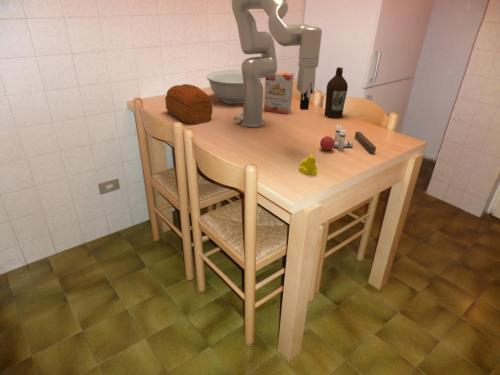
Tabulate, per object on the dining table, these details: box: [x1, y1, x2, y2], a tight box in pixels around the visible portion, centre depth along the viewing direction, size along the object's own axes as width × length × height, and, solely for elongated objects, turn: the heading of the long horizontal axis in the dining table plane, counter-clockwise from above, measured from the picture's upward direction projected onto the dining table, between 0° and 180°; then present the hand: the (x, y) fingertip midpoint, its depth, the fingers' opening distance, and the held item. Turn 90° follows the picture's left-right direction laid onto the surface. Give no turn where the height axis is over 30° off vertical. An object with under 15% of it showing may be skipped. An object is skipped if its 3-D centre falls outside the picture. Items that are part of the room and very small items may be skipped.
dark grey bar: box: [354, 131, 377, 155], centre depth 156 cm, size 2×18×3 cm, turn 6°
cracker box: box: [263, 71, 295, 115], centre depth 192 cm, size 14×6×21 cm, turn 68°
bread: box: [164, 83, 213, 125], centre depth 184 cm, size 16×27×16 cm, turn 37°
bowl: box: [206, 69, 263, 104], centre depth 211 cm, size 32×32×15 cm
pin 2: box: [337, 129, 347, 151], centre depth 151 cm, size 2×2×8 cm
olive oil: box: [324, 66, 349, 119], centre depth 186 cm, size 11×11×25 cm
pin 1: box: [334, 124, 343, 142], centre depth 155 cm, size 2×2×8 cm
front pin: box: [332, 140, 354, 149], centre depth 155 cm, size 2×2×8 cm
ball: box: [319, 135, 335, 152], centre depth 151 cm, size 6×6×6 cm
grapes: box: [298, 153, 318, 177], centre depth 133 cm, size 6×8×8 cm
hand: (303, 109), depth 145 cm, fingers closed
